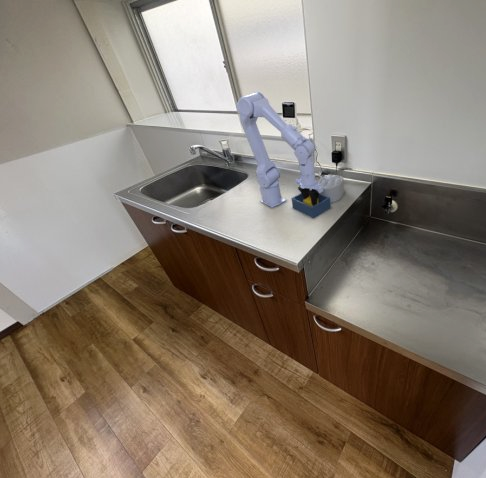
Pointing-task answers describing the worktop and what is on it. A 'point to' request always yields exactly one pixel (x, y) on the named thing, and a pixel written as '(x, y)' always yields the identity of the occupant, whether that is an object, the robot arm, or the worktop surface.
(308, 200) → the duck
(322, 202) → the open box
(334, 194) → the lumpy-topped squat cylinder
